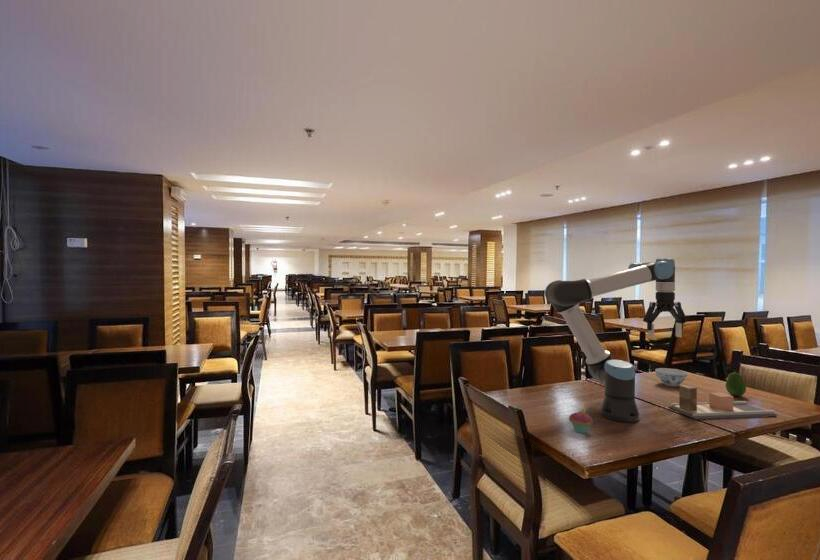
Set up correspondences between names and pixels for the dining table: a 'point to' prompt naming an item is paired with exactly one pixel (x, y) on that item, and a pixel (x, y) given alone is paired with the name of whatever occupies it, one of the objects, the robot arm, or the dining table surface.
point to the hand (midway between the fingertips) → (665, 337)
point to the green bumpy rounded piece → (735, 384)
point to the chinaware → (671, 376)
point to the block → (721, 401)
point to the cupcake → (581, 421)
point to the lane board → (748, 412)
